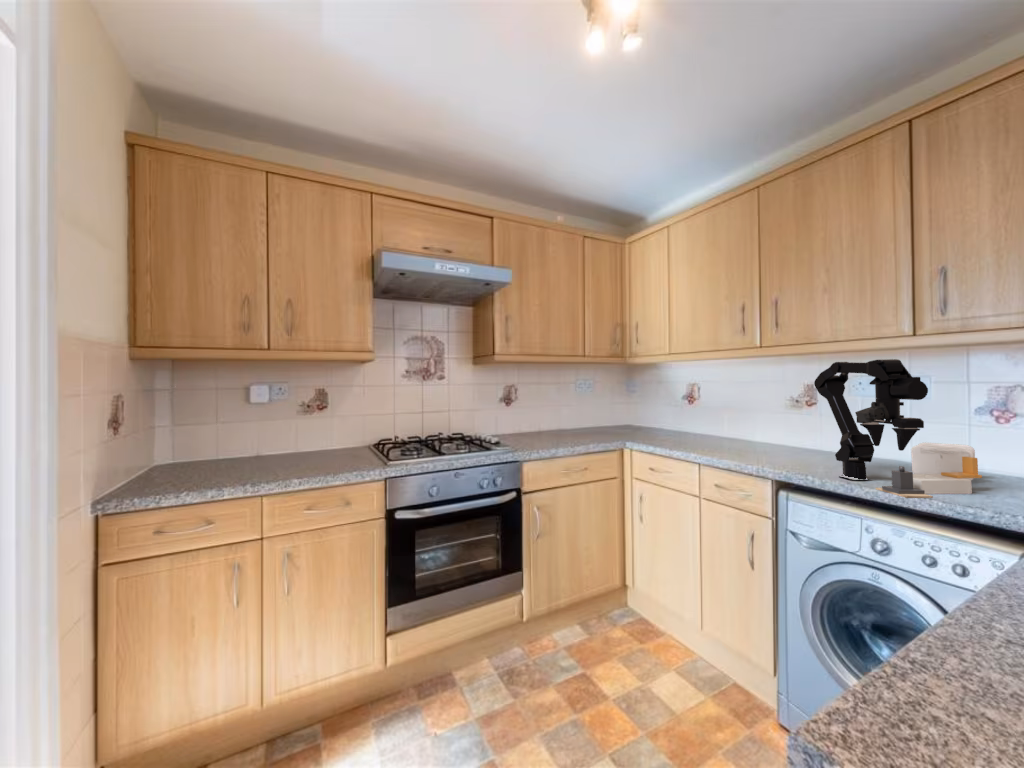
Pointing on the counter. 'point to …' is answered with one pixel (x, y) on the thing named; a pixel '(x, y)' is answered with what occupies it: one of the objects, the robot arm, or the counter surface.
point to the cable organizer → (939, 458)
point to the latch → (966, 469)
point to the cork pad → (908, 494)
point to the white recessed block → (941, 484)
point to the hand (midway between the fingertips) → (888, 448)
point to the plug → (902, 483)
